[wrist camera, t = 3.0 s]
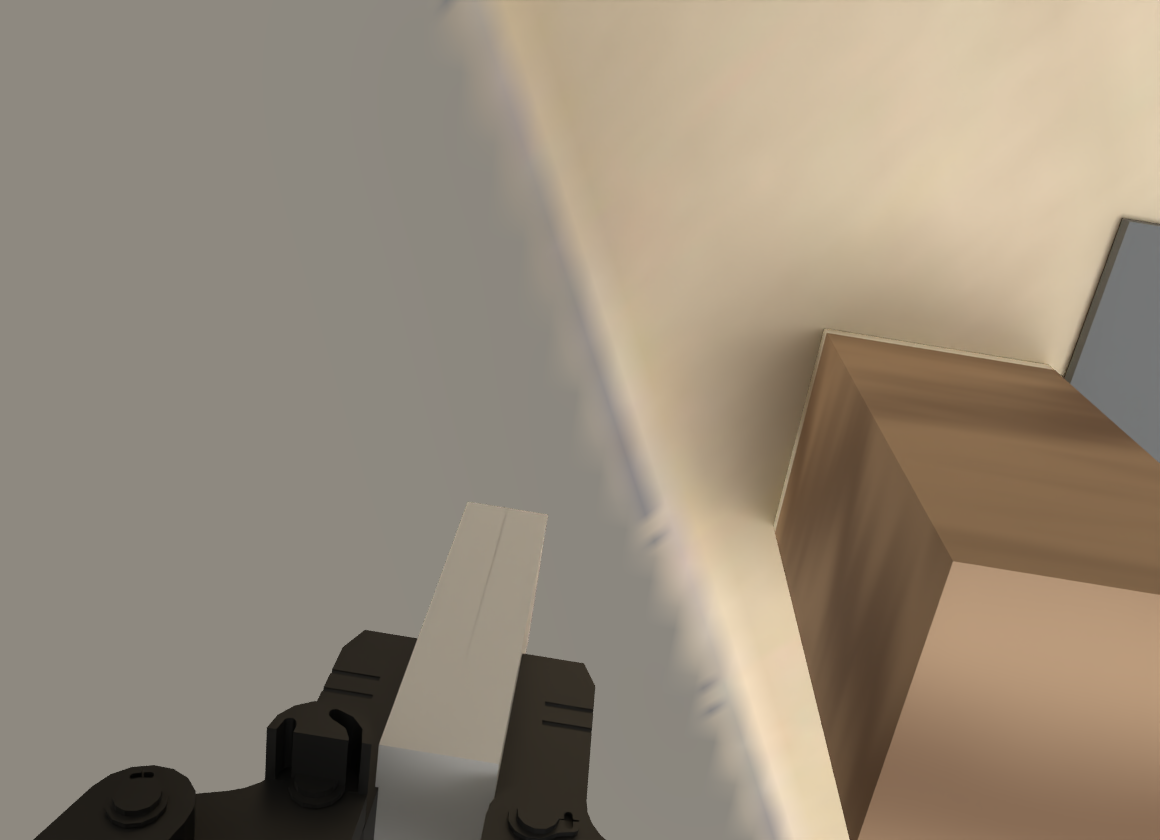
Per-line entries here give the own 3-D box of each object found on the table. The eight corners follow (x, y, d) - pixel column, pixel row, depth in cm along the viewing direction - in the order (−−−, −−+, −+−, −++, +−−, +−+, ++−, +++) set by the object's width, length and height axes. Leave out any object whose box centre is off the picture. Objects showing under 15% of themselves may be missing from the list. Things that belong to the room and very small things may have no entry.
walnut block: (824, 328, 26) (952, 561, 15) (1048, 364, 26) (1342, 624, 15) (773, 526, 29) (852, 853, 17) (979, 559, 29) (1189, 908, 17)
